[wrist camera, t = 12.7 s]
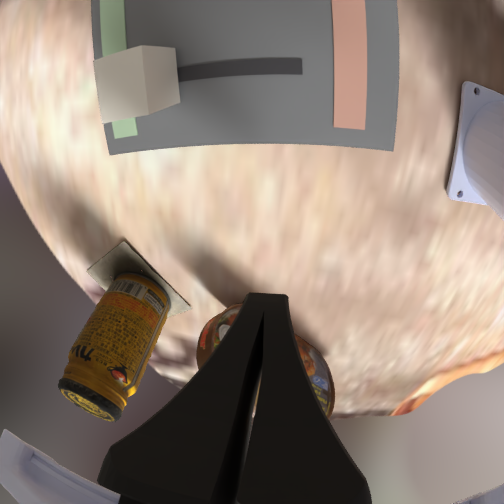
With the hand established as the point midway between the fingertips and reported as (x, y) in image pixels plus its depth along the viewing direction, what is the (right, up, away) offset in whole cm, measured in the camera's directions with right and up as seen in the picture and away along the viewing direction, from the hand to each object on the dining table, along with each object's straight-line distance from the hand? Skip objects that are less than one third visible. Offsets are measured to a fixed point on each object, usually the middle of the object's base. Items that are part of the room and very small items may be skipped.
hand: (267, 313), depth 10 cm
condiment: (-11, -1, +15) cm, 19 cm away
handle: (-5, +11, +2) cm, 12 cm away
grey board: (-1, +16, 0) cm, 16 cm away
